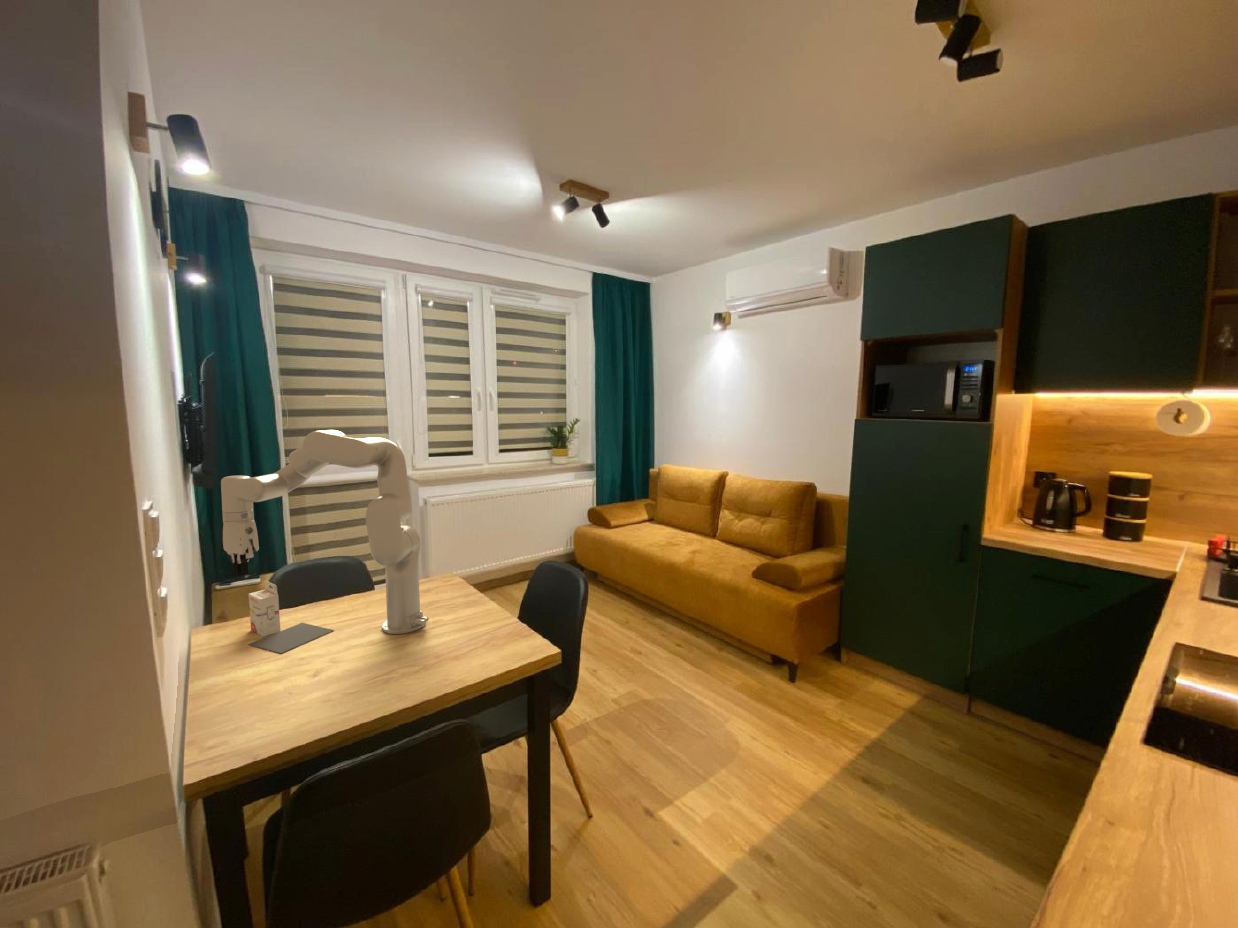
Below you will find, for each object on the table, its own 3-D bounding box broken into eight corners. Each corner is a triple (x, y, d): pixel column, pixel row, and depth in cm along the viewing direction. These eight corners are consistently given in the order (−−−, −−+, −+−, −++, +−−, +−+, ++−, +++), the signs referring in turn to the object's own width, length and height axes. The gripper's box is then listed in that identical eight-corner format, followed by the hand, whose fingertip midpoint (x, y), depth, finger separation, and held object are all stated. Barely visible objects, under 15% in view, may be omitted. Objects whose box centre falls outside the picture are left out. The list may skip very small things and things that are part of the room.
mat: (333, 630, 152) (333, 629, 152) (281, 653, 137) (281, 652, 137) (302, 623, 157) (302, 622, 157) (248, 644, 142) (248, 643, 142)
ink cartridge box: (249, 630, 151) (246, 583, 150) (268, 624, 156) (265, 579, 154) (262, 637, 147) (259, 589, 146) (281, 631, 151) (278, 584, 150)
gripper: (267, 516, 152) (269, 574, 154) (236, 511, 158) (238, 568, 159) (241, 521, 145) (243, 582, 147) (209, 516, 151) (212, 574, 152)
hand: (241, 574), depth 153 cm, fingers closed
